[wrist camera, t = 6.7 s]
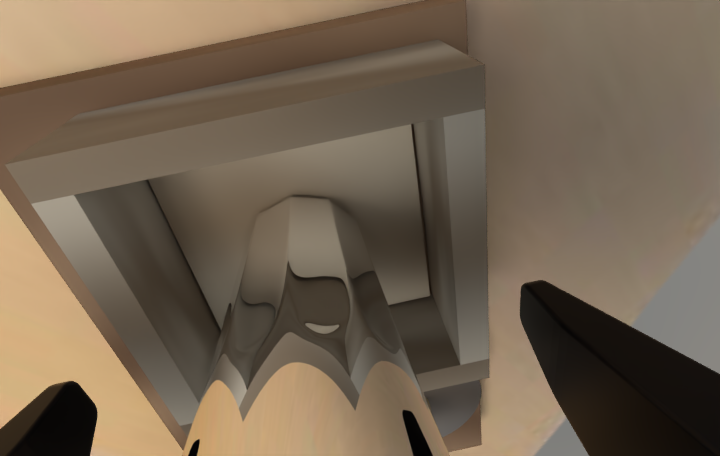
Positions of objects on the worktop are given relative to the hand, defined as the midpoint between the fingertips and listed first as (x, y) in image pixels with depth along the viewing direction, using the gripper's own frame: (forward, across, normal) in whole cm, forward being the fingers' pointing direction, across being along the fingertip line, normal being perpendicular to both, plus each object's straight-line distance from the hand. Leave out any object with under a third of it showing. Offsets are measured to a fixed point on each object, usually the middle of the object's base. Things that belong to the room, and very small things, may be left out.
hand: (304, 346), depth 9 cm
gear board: (+6, +1, +4) cm, 7 cm away
